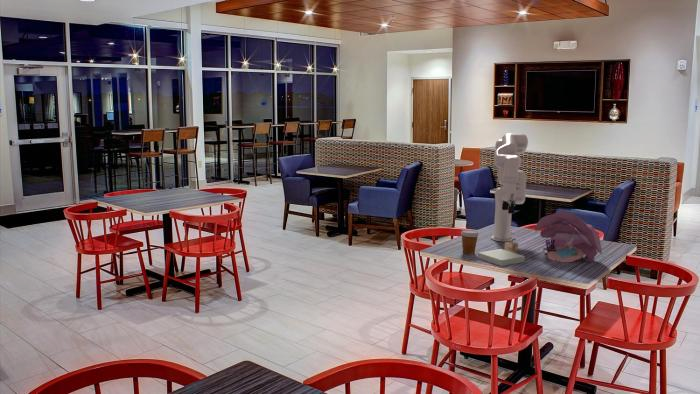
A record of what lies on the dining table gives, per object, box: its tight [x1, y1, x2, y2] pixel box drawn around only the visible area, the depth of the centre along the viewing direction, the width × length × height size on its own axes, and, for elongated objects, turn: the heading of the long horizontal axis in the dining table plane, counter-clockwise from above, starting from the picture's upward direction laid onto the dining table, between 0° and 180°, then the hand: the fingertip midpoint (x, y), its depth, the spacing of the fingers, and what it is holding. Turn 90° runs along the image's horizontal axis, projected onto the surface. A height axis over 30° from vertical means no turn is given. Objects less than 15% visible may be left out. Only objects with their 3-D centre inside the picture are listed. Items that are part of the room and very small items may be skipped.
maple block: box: [503, 241, 519, 254], centre depth 340 cm, size 5×5×6 cm
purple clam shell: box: [534, 210, 603, 263], centre depth 332 cm, size 35×24×28 cm
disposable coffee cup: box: [460, 229, 479, 255], centre depth 339 cm, size 10×10×12 cm
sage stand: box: [477, 248, 526, 267], centre depth 327 cm, size 17×17×3 cm
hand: (508, 211), depth 332 cm, fingers open, 9 cm apart
